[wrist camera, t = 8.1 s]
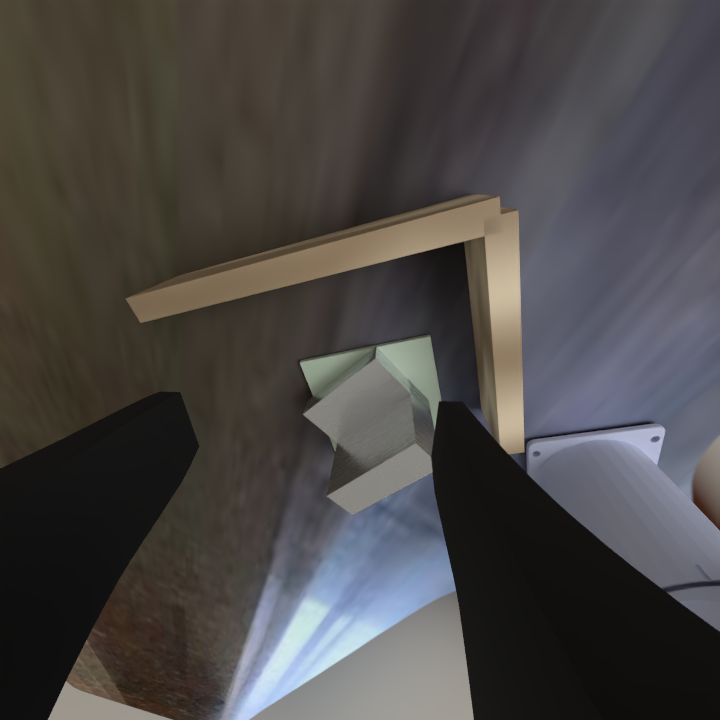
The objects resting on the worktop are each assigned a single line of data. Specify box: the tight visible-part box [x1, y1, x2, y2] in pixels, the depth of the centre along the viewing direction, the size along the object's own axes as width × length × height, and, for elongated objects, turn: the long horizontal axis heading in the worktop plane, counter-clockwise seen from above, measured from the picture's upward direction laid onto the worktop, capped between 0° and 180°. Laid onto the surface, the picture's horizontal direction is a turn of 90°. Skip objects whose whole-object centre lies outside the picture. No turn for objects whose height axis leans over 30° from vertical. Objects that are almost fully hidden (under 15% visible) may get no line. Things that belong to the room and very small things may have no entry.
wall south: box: [464, 207, 524, 454], centre depth 16 cm, size 12×1×4 cm, turn 15°
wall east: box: [126, 194, 501, 323], centre depth 15 cm, size 1×16×4 cm, turn 105°
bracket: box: [303, 347, 435, 515], centre depth 18 cm, size 6×5×6 cm
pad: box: [300, 334, 441, 451], centre depth 21 cm, size 8×8×1 cm
